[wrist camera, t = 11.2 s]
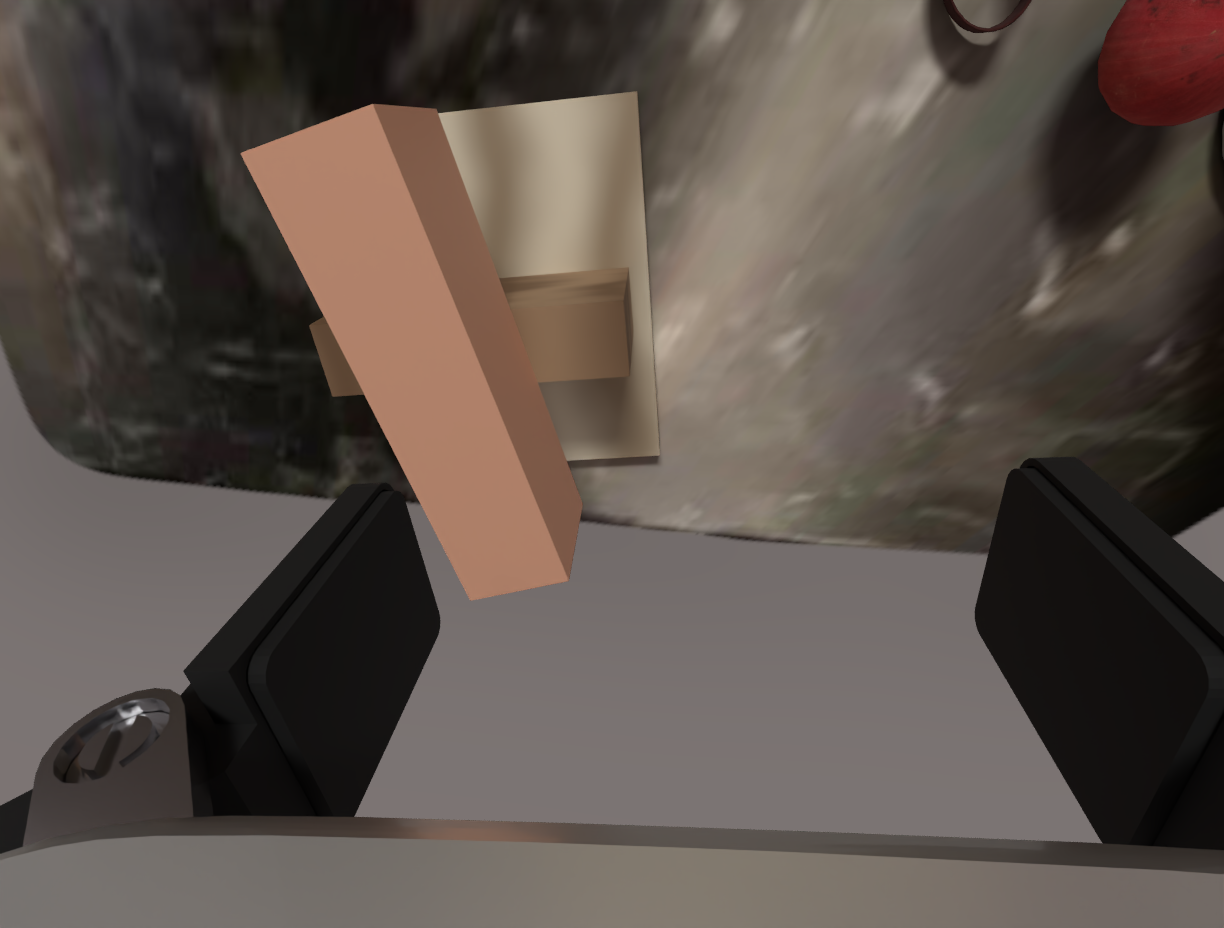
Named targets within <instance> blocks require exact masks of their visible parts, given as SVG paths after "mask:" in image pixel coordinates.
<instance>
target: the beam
mask: <svg viewBox="0 0 1224 928" xmlns="http://www.w3.org/2000/svg"><path fill="white" fill-rule="evenodd" d="M241 155H242V157H243V159H244V161H245V163H246V165H247V167H248V169H249V171H250V173H251V175H252V177H253V179H254V181H255V183H256V185H257V187H258V188H259V190H260V192H261V194H262V196H263V198H264V200H265V202H266V204H267V206H268V208H269V210H270V212H271V214H272V216H273V218H274V220H275V222H276V223H277V225H278V227H279V229H280V231H281V233H282V235H283V237H284V239H285V241H286V243H287V245H288V247H289V249H290V251H291V253H292V255H293V257H294V258H295V260H296V262H297V264H298V266H299V268H300V270H301V272H302V274H303V276H304V278H305V280H306V282H307V284H308V286H309V288H310V290H311V292H312V293H313V295H314V297H315V299H316V301H317V303H318V305H319V307H320V309H321V311H322V313H323V315H324V317H325V319H326V321H327V323H328V325H329V327H330V329H331V330H332V332H333V334H334V336H335V338H336V340H337V342H338V344H339V346H340V348H341V350H342V352H343V354H344V356H345V358H346V360H347V362H348V364H349V365H350V367H351V369H352V371H353V373H354V375H355V377H356V379H357V381H358V383H359V385H360V387H361V389H362V391H363V393H364V395H365V397H366V399H367V400H368V402H369V404H370V406H371V408H372V410H373V412H374V414H375V416H376V418H377V420H378V422H379V424H380V426H381V428H382V430H383V432H384V434H385V435H386V437H387V439H388V441H389V443H390V445H391V447H392V449H393V451H394V453H395V455H396V457H397V459H398V461H399V463H400V465H401V467H402V469H403V470H404V472H405V474H406V476H407V478H408V480H409V482H410V484H411V486H412V488H413V490H414V492H415V494H416V496H417V498H418V500H419V502H420V504H421V505H422V507H423V509H424V511H425V513H426V515H427V517H428V519H429V521H430V523H431V525H432V527H433V529H434V531H435V533H436V535H437V537H438V539H439V541H440V542H441V544H442V546H443V548H444V550H445V552H446V554H447V556H448V558H449V560H450V562H451V564H452V566H453V568H454V569H455V572H456V574H457V576H458V577H459V579H460V581H461V583H462V585H463V587H464V589H465V591H466V593H467V595H468V597H469V599H470V601H471V600H476V599H481V598H486V597H491V596H496V595H502V594H507V593H511V592H517V591H522V590H527V589H532V588H537V587H542V586H547V585H552V584H556V583H562V582H567V581H569V577H570V571H571V566H572V561H573V555H574V550H575V544H576V539H577V533H578V527H579V522H580V517H581V511H582V506H583V503H582V501H581V498H580V495H579V493H578V490H577V487H576V485H575V482H574V479H573V476H572V474H571V471H570V468H569V466H568V463H567V460H566V458H565V455H564V452H563V450H562V447H561V444H560V441H559V439H558V436H557V433H556V431H555V428H554V425H553V423H552V420H551V417H550V414H549V412H548V409H547V406H546V404H545V401H544V398H543V396H542V393H541V390H540V387H539V385H538V382H537V379H536V377H535V374H534V371H533V369H532V366H531V363H530V361H529V358H528V355H527V352H526V350H525V347H524V344H523V342H522V339H521V336H520V334H519V331H518V328H517V325H516V323H515V320H514V317H513V315H512V312H511V309H510V307H509V304H508V301H507V299H506V296H505V293H504V290H503V288H502V285H501V282H500V280H499V277H498V274H497V272H496V269H495V266H494V263H493V261H492V258H491V255H490V253H489V250H488V247H487V245H486V242H485V239H484V236H483V234H482V231H481V228H480V226H479V223H478V220H477V218H476V215H475V212H474V210H473V207H472V204H471V201H470V199H469V196H468V193H467V191H466V188H465V185H464V183H463V180H462V177H461V174H460V172H459V169H458V166H457V164H456V161H455V158H454V156H453V153H452V150H451V147H450V145H449V142H448V139H447V137H446V134H445V131H444V129H443V126H442V123H441V121H440V118H439V115H438V112H437V110H436V109H429V108H416V107H404V106H391V105H379V104H371V105H369V106H366V107H363V108H361V109H358V110H355V111H353V112H350V113H347V114H344V115H342V116H339V117H336V118H334V119H331V120H328V121H326V122H323V123H320V124H318V125H315V126H312V127H309V128H307V129H304V130H301V131H299V132H296V133H293V134H291V135H288V136H285V137H283V138H280V139H277V140H275V141H272V142H269V143H266V144H264V145H261V146H258V147H256V148H253V149H250V150H248V151H245V152H242V153H241Z"/></svg>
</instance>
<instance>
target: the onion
mask: <svg viewBox="0 0 1224 928" xmlns="http://www.w3.org/2000/svg"><path fill="white" fill-rule="evenodd" d="M1098 86H1099V90H1100V92H1101V93H1102V95H1103V97H1104V99H1105V100H1106V102H1107V104H1108V106H1109V108H1110V109H1111V111H1112V112H1114V113H1116V114H1117V115H1119V116H1121V117H1122V118H1124V119H1125V120H1127V121H1129V122H1130V123H1133V124H1138V125H1143V126H1174V125H1178V124H1183V123H1187V122H1190V121H1193V120H1195V119H1198V118H1201V117H1203V116H1206V115H1209V114H1211V113H1214V112H1217V111H1219V110H1221V109H1223V108H1224V0H1127V1H1126V2H1125V4H1124V6H1123V7H1122V9H1121V10H1120V12H1119V14H1118V15H1117V17H1116V19H1115V20H1114V22H1113V23H1112V25H1111V27H1110V28H1109V30H1108V32H1107V34H1106V37H1105V41H1104V44H1103V47H1102V50H1101V53H1100V57H1099V60H1098Z"/></svg>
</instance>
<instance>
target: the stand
mask: <svg viewBox="0 0 1224 928" xmlns="http://www.w3.org/2000/svg"><path fill="white" fill-rule="evenodd" d="M438 115H439V118H440V121H441V123H442V126H443V129H444V131H445V134H446V137H447V139H448V142H449V145H450V147H451V150H452V153H453V156H454V158H455V161H456V164H457V166H458V169H459V172H460V174H461V177H462V180H463V183H464V185H465V188H466V191H467V193H468V196H469V199H470V201H471V204H472V207H473V210H474V212H475V215H476V218H477V220H478V223H479V226H480V228H481V231H482V234H483V236H484V239H485V242H486V245H487V247H488V250H489V253H490V255H491V258H492V261H493V263H494V266H495V269H496V272H497V274H498V277H499V280H500V282H501V285H502V288H503V290H504V293H505V296H506V299H507V301H508V304H509V307H510V309H511V312H512V315H513V317H514V320H515V323H516V325H517V328H518V331H519V334H520V336H521V339H522V342H523V344H524V347H525V350H526V352H527V355H528V358H529V361H530V363H531V366H532V369H533V371H534V374H535V377H536V379H537V382H538V385H539V387H540V390H541V393H542V396H543V398H544V401H545V404H546V406H547V409H548V412H549V414H550V417H551V420H552V423H553V425H554V428H555V431H556V433H557V436H558V439H559V441H560V444H561V447H562V450H563V452H564V455H565V458H566V460H567V461H570V460H588V459H606V458H624V457H642V456H660V445H659V429H658V413H657V397H656V381H655V365H654V349H653V333H652V317H651V301H650V285H649V269H648V253H647V237H646V221H645V205H644V189H643V173H642V157H641V141H640V125H639V110H638V94H637V92H628V93H619V94H610V95H601V96H592V97H583V98H574V99H565V100H556V101H547V102H538V103H529V104H520V105H510V106H501V107H492V108H483V109H474V110H465V111H456V112H447V113H438ZM309 326H310V329H311V333H312V336H313V339H314V342H315V345H316V348H317V351H318V354H319V357H320V360H321V363H322V366H323V369H324V372H325V375H326V378H327V381H328V384H329V387H330V390H331V393H332V396H348V395H363V394H364V393H363V391H362V389H361V387H360V385H359V383H358V381H357V379H356V377H355V375H354V373H353V371H352V369H351V367H350V365H349V364H348V362H347V360H346V358H345V356H344V354H343V352H342V350H341V348H340V346H339V344H338V342H337V340H336V338H335V336H334V334H333V332H332V330H331V329H330V327H329V325H328V323H327V321H326V319H325V317H323V318H321V319H319V320H318V321H316V322H314V323H312V324H311V325H309Z"/></svg>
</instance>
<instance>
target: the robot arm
mask: <svg viewBox="0 0 1224 928" xmlns="http://www.w3.org/2000/svg"><path fill="white" fill-rule="evenodd" d="M1222 155H1223V159H1224V123H1223V128H1222ZM975 622H976V626H977V629H978V632H979V634H980V636H981V638H982V639H983V641H984V643H985V644H986V646H987V648H988V649H989V651H990V653H991V655H992V656H993V658H994V660H995V661H996V663H997V665H998V666H999V668H1000V670H1001V672H1002V673H1003V675H1004V677H1005V678H1006V680H1007V682H1008V683H1009V685H1010V687H1011V689H1012V690H1013V692H1014V694H1015V695H1016V697H1017V699H1018V701H1019V702H1020V704H1021V706H1022V707H1023V709H1024V711H1025V712H1026V714H1027V716H1028V718H1029V719H1030V721H1031V723H1032V724H1033V726H1034V728H1035V729H1036V731H1037V733H1038V735H1039V736H1040V738H1041V740H1042V741H1043V743H1044V745H1045V747H1046V748H1047V750H1048V751H1049V753H1050V755H1051V757H1052V758H1053V760H1054V762H1055V763H1056V765H1057V767H1058V769H1059V770H1060V772H1061V774H1062V775H1063V777H1064V779H1065V780H1066V782H1067V784H1068V786H1069V787H1070V789H1071V791H1072V793H1073V794H1074V796H1075V798H1076V799H1077V801H1078V803H1079V804H1080V806H1081V808H1082V810H1083V811H1084V813H1085V814H1086V816H1087V818H1088V820H1089V822H1090V823H1091V825H1092V827H1093V828H1094V830H1095V832H1096V833H1097V835H1098V837H1099V838H1100V840H1101V841H1102V843H1103V844H1102V843H1083V842H1059V841H1034V840H1033V841H1031V840H1008V839H984V838H983V839H982V838H959V837H933V836H909V835H884V834H858V833H834V832H806V831H777V830H749V829H721V828H693V827H692V828H691V827H663V826H635V825H606V824H576V823H545V822H544V823H543V822H510V821H476V820H475V821H474V820H439V819H407V818H406V819H405V818H373V817H354V816H355V814H356V812H357V810H358V807H359V805H360V803H361V801H362V799H363V797H364V795H365V792H366V790H367V788H368V786H369V784H370V782H371V779H372V777H373V775H374V773H375V771H376V769H377V766H378V764H379V762H380V760H381V758H382V756H383V753H384V751H385V749H386V747H387V745H388V743H389V740H390V738H391V736H392V734H393V732H394V730H395V728H396V725H397V723H398V721H399V719H400V717H401V714H402V712H403V710H404V708H405V706H406V703H407V702H408V699H409V697H410V695H411V693H412V691H413V689H414V686H415V684H416V682H417V680H418V678H419V676H420V673H421V671H422V669H423V666H424V664H425V663H426V661H427V658H428V656H429V654H430V652H431V650H432V648H433V645H434V643H435V641H436V639H437V637H438V634H439V629H440V615H439V610H438V608H437V604H436V601H435V597H434V594H433V591H432V588H431V584H430V581H429V578H428V574H427V571H426V568H425V565H424V561H423V558H422V555H421V551H420V548H419V545H418V541H417V539H416V535H415V532H414V528H413V525H412V522H411V518H410V515H409V512H408V509H407V505H406V502H405V499H404V497H403V495H402V494H401V492H399V491H394V490H393V488H392V487H391V486H390V485H389V484H387V483H368V484H352V485H350V486H349V487H347V489H346V490H345V491H344V492H343V493H342V494H341V495H340V496H339V497H338V499H337V500H336V501H335V502H334V503H333V504H332V505H331V507H330V508H329V509H328V510H327V511H326V512H325V513H324V514H323V515H322V517H321V518H320V519H319V520H318V521H317V522H316V523H315V524H314V525H313V527H312V528H311V529H310V530H309V531H308V532H307V533H306V534H305V536H304V537H303V538H302V539H301V540H300V541H299V542H298V544H296V546H295V547H294V548H293V549H292V550H291V551H290V552H289V553H288V555H287V556H286V557H285V558H284V559H283V560H282V561H281V562H280V564H279V565H278V566H277V567H276V568H275V569H274V570H273V571H272V572H271V574H270V575H269V576H268V577H267V578H266V579H265V580H264V581H263V583H262V584H261V585H260V586H259V587H258V588H257V589H256V590H255V591H254V593H253V594H252V595H251V596H250V597H249V598H248V599H247V600H246V602H245V603H244V604H243V605H242V606H241V607H240V608H239V609H238V611H237V612H236V613H235V614H234V615H233V616H232V617H231V618H230V619H229V620H228V622H227V623H226V624H225V625H224V626H223V627H222V628H221V629H220V631H219V632H218V633H217V634H216V635H215V636H214V637H213V638H212V640H211V641H210V642H209V643H208V644H207V645H206V646H205V647H204V649H203V650H202V651H201V652H200V653H199V654H198V655H197V656H196V658H195V659H194V660H193V661H192V662H191V663H190V664H189V665H188V666H187V668H186V669H185V670H184V673H185V675H186V676H187V678H188V680H189V681H190V683H191V684H190V685H189V686H188V687H187V689H186V690H185V691H184V692H183V693H182V694H181V695H179V694H177V693H176V692H173V691H172V690H170V689H160V688H153V689H147V690H141V691H136V692H133V693H130V694H127V695H124V696H122V697H119V698H116V699H114V700H112V701H110V702H108V703H106V704H104V705H102V706H100V707H99V708H97V709H95V710H93V711H92V712H90V713H89V714H87V715H86V716H85V717H83V718H81V719H80V720H79V721H77V722H76V723H74V724H73V725H72V726H71V727H70V728H69V729H67V731H65V732H64V733H63V734H62V735H61V736H60V737H59V738H58V739H57V740H56V741H55V742H54V743H53V744H52V746H51V747H50V748H49V750H48V751H47V752H46V754H45V755H44V756H43V757H42V759H41V762H40V764H39V767H38V770H37V772H36V775H35V780H34V786H33V789H32V790H30V791H28V792H26V793H24V794H22V795H20V796H18V797H16V798H15V799H13V800H11V801H9V802H7V803H5V804H3V805H1V806H0V928H1224V582H1223V581H1222V580H1221V579H1220V578H1219V577H1217V576H1216V575H1215V574H1214V573H1213V572H1212V571H1210V570H1209V569H1208V568H1207V567H1205V566H1204V565H1203V564H1202V563H1201V562H1200V561H1199V560H1197V559H1196V558H1195V557H1194V556H1193V555H1191V554H1190V553H1189V552H1188V551H1187V550H1186V549H1184V548H1183V547H1182V546H1181V545H1180V544H1178V543H1177V542H1176V541H1175V540H1174V539H1173V538H1171V537H1170V536H1169V535H1168V534H1167V533H1165V532H1164V531H1163V530H1162V529H1161V528H1160V527H1158V526H1157V525H1156V524H1155V523H1154V522H1152V521H1151V520H1150V519H1149V518H1148V517H1147V516H1145V515H1144V514H1143V513H1142V512H1141V511H1139V510H1138V509H1137V508H1136V507H1135V506H1134V505H1132V504H1131V503H1130V502H1129V501H1128V500H1127V499H1125V498H1124V497H1123V496H1122V495H1121V494H1119V493H1118V492H1117V491H1116V490H1115V489H1114V488H1112V487H1111V486H1110V485H1109V484H1108V483H1106V482H1105V481H1104V480H1103V479H1102V478H1101V477H1099V476H1098V475H1097V474H1096V473H1095V472H1093V471H1092V470H1091V469H1090V468H1089V467H1088V466H1086V465H1085V464H1084V463H1083V462H1082V461H1080V460H1079V459H1077V458H1075V457H1051V458H1029V459H1027V460H1025V461H1024V462H1023V463H1022V465H1021V466H1020V469H1013V470H1011V471H1010V473H1009V474H1008V477H1007V480H1006V484H1005V488H1004V492H1003V496H1002V500H1001V504H1000V509H999V513H998V517H997V521H996V525H995V529H994V533H993V537H992V541H991V545H990V550H989V554H988V558H987V562H986V567H985V570H984V574H983V578H982V583H981V587H980V591H979V595H978V599H977V603H976V607H975Z"/></svg>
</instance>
